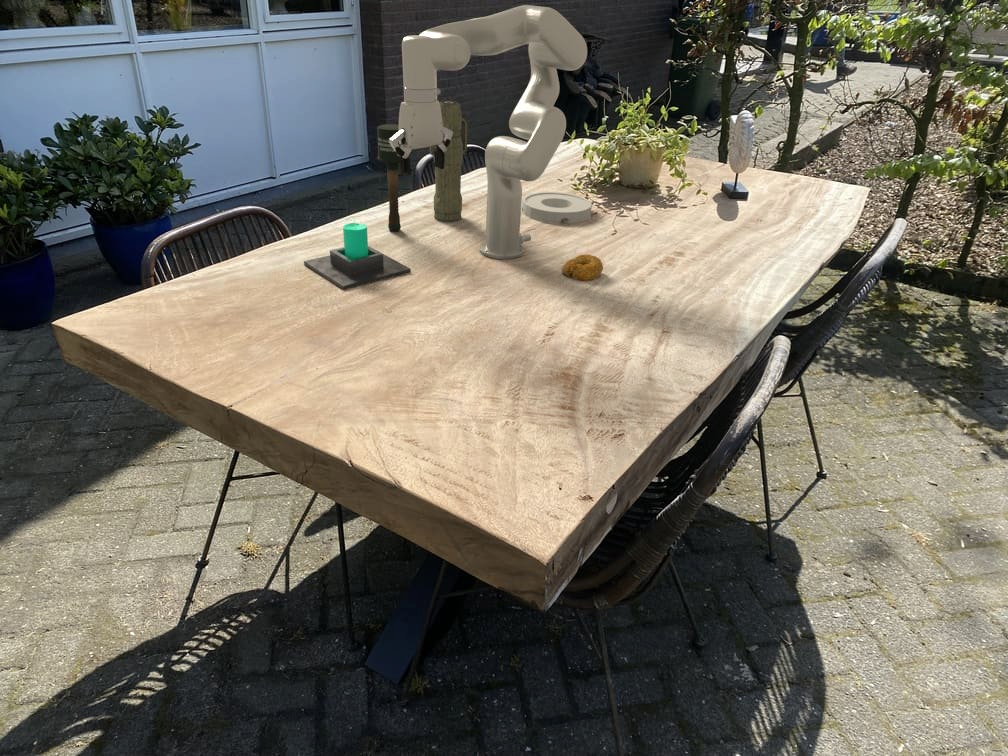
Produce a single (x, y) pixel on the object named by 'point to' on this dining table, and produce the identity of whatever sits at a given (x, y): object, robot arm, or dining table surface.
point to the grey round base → (556, 207)
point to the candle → (355, 240)
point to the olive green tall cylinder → (450, 166)
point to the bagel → (583, 267)
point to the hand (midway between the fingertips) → (422, 170)
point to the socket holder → (356, 268)
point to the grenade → (390, 171)
